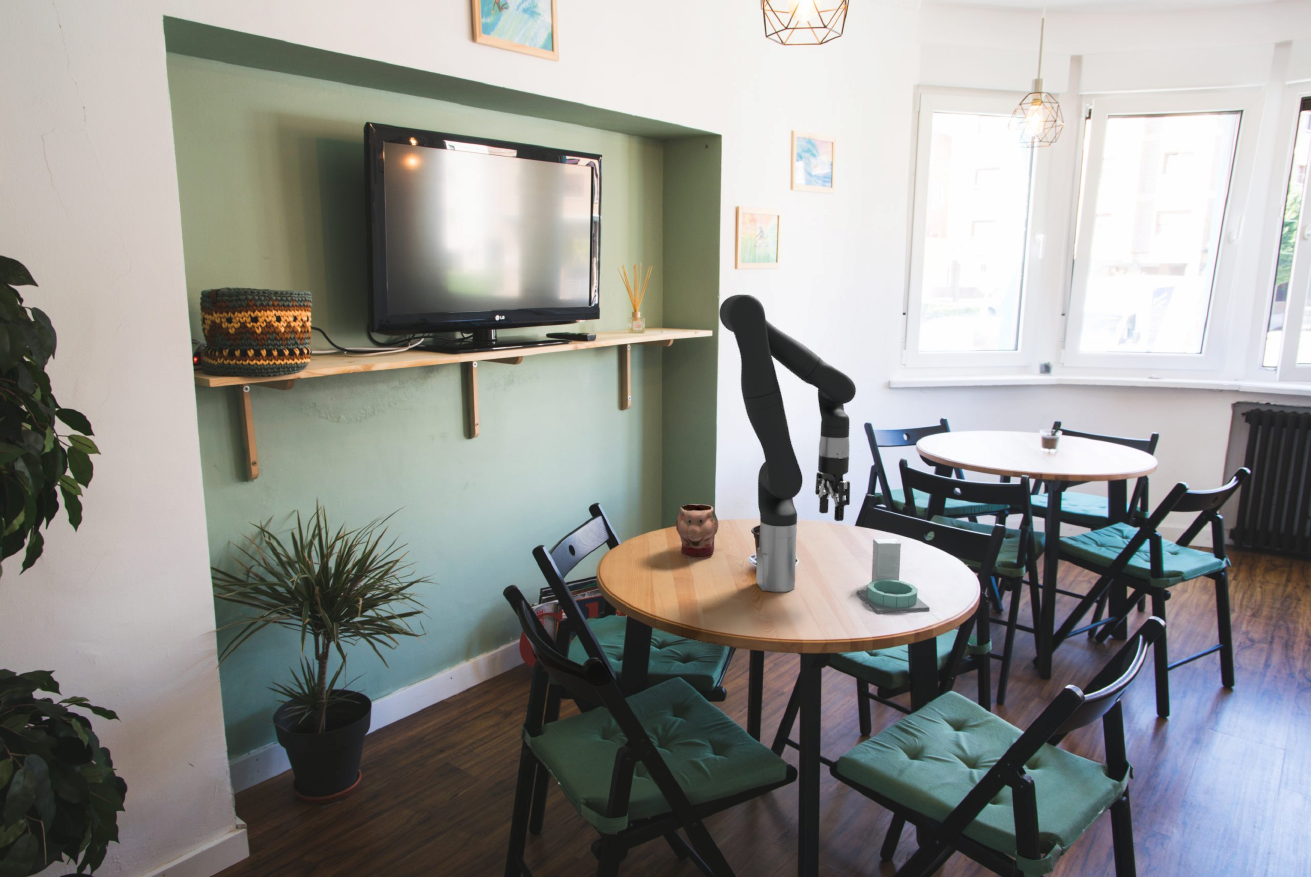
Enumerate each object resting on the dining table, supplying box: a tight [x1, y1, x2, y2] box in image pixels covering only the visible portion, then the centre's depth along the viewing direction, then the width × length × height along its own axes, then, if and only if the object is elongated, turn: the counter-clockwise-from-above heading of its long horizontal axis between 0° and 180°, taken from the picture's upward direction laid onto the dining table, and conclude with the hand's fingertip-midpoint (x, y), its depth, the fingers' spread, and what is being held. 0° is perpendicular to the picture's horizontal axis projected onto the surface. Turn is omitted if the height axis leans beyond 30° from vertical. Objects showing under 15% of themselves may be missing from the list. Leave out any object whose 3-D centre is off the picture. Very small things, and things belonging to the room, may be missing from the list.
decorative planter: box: [675, 503, 719, 559], centre depth 232 cm, size 20×12×14 cm, turn 179°
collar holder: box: [855, 579, 931, 614], centre depth 196 cm, size 13×13×4 cm
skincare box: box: [871, 538, 902, 582], centre depth 206 cm, size 6×4×12 cm
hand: (831, 516), depth 205 cm, fingers open, 8 cm apart
